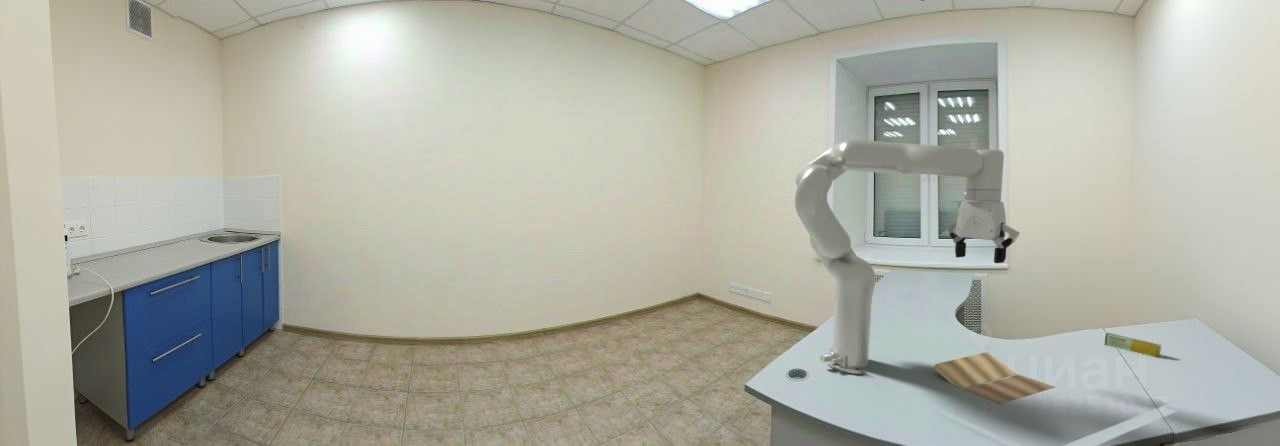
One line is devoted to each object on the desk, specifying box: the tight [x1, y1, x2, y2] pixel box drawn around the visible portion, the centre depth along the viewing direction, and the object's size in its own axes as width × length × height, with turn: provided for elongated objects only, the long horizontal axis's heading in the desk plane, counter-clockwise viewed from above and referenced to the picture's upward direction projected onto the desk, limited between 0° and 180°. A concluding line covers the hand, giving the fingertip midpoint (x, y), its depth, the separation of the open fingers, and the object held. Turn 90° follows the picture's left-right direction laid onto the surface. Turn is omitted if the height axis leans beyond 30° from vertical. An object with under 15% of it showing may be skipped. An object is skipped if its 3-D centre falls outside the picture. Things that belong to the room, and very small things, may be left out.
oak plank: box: [932, 351, 1016, 389], centre depth 120 cm, size 22×8×1 cm, turn 113°
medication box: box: [1104, 332, 1162, 358], centre depth 142 cm, size 12×3×4 cm, turn 26°
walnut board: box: [963, 373, 1055, 405], centre depth 113 cm, size 23×8×2 cm, turn 113°
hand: (979, 259), depth 121 cm, fingers open, 9 cm apart
